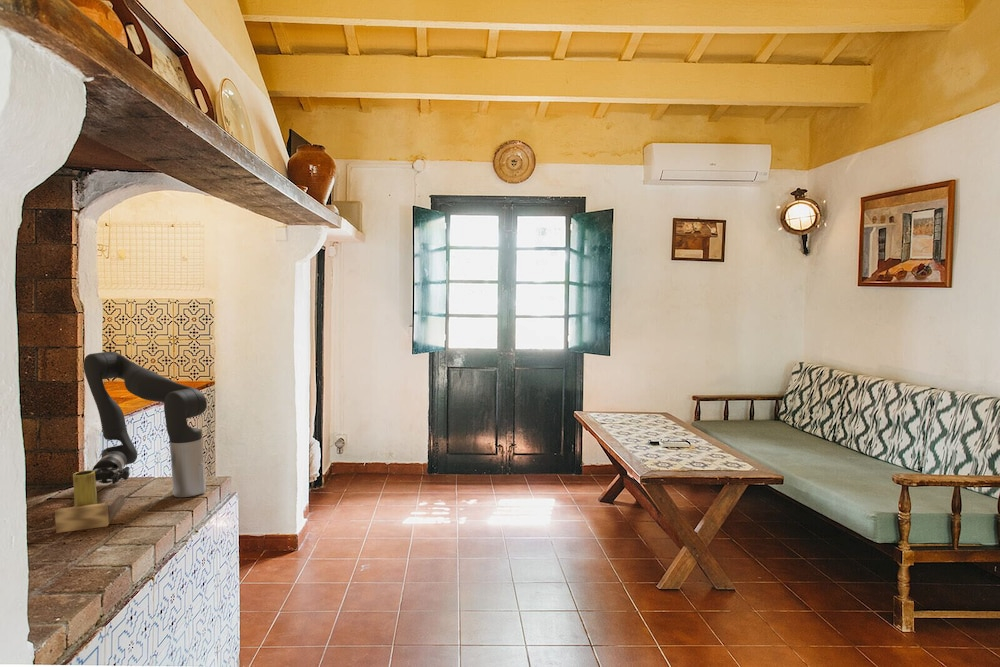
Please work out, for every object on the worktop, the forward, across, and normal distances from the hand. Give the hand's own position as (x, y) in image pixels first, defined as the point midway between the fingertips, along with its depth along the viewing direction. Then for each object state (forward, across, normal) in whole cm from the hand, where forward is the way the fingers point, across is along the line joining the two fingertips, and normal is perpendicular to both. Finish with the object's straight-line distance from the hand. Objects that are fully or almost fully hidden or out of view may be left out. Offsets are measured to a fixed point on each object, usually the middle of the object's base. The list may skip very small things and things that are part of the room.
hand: (97, 482), depth 192 cm
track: (+6, 0, +8) cm, 10 cm away
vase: (+11, -1, +8) cm, 14 cm away
